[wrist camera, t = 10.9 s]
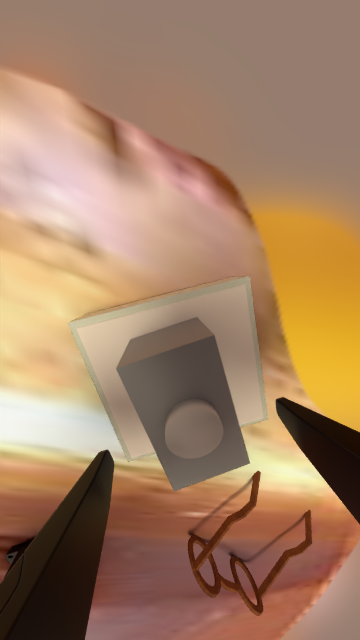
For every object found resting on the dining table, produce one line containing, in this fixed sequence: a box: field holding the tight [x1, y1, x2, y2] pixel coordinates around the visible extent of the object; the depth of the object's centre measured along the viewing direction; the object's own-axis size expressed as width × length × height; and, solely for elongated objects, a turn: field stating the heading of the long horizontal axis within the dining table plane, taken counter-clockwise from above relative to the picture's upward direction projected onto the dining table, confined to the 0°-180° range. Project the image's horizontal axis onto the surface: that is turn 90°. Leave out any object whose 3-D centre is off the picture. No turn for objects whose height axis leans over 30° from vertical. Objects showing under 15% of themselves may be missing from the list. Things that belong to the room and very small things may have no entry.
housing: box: [116, 317, 250, 491], centre depth 11 cm, size 5×9×5 cm, turn 18°
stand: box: [68, 276, 268, 462], centre depth 15 cm, size 13×13×3 cm
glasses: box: [188, 471, 312, 616], centre depth 21 cm, size 13×13×5 cm
